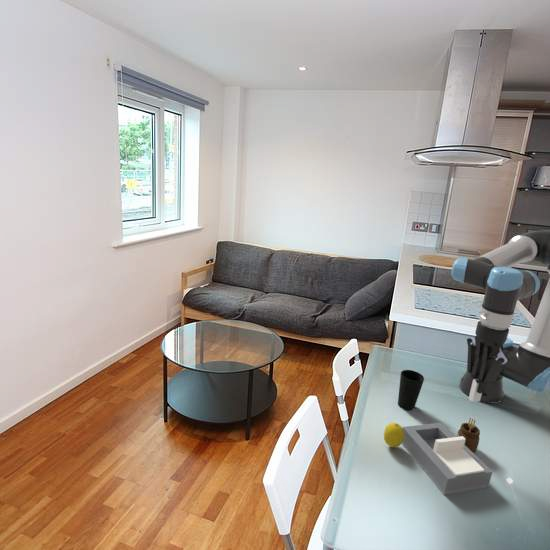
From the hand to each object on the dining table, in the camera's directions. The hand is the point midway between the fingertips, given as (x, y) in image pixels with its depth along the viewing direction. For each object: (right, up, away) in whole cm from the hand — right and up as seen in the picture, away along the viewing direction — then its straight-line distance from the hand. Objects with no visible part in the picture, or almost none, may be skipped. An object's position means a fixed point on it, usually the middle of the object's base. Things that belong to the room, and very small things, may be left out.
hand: (474, 400), depth 109 cm
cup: (-11, -10, +25) cm, 29 cm away
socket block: (-10, -17, -1) cm, 20 cm away
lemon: (-23, -15, +4) cm, 27 cm away
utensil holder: (+1, -17, +6) cm, 18 cm away
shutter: (-8, -14, -7) cm, 18 cm away
